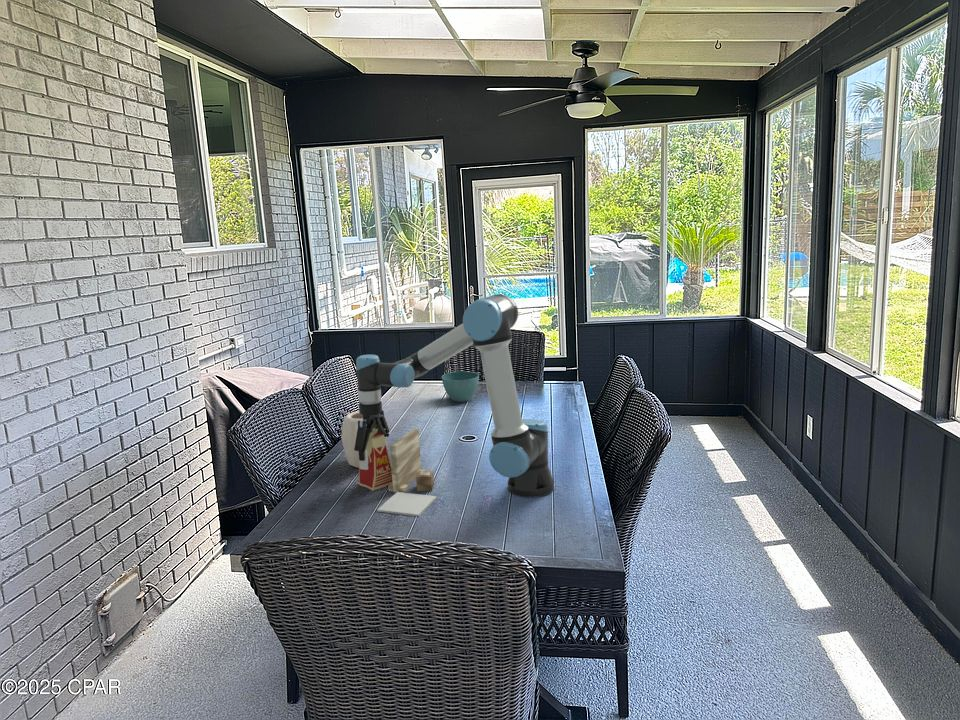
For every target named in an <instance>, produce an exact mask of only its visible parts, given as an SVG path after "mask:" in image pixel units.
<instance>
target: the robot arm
mask: <svg viewBox="0 0 960 720" xmlns="http://www.w3.org/2000/svg"><path fill="white" fill-rule="evenodd" d="M518 318H519V309H518V305H517V304H516V302H515V301H514V300H513V298H511V297H510V296H508V295H506V294H493V295H489V296H487V297H482V298H478V299H476V300H474V301H473V302H472V303H470V304H469V305H468V306H467V307H466V309H465V310H464V313H463V316H462V323H461V324H459V325H458V326H455V328H453V329H452V330H450V331H448V332H446V333H445V334H443V335H442V336H440V337H439V338H437V339H436V340H434V341H432V342H430V343H428V345H426V346H424V347H423V348H421V349H419V350H418V351H416V352H414V353H413V354H411V355H410V356H407V357H405V358H403V359H401V360H397V361H395V362H381V360H380V358H379V356H378V354H377V355H376V354H362V355H359V356H358V357H357V358H356V359H355V360H356V362H355V364H356V365H355V366H356V369H355V371H356V381H357V394H358V397H357V398H358V402H359V403H358V411H359V413H360V414H362V415H363V420H362V421H360V420H359V421H358V430H357V436H356V442H355V448H354V450H355V451H358V452H359V463H360V469H364V470H368V457H367V450H366V446H367V443H368V439H369V436H370V433H371V432H372V430H373V429H374V428H375V429H378V430H377V433H380V434H384V437H385V442H386V446H387V445H388V444H387V438H389V437H390V429H389V426H388V423H387V421H386V420H387V419H386V417H385V412H384V409H383V405H382V401H381V400H382V388H381V387H382V386H384V387H392V388H399V389H401V388H410V387H411V386H412V384H413V382H414V381H415V379H417V378H419V377H422V376H425V375H426V374H427V373H429V371H431V370H433V369H434V368H436V367H437V366H439V365H440V364H442V363H444V362H445V361H447V360H449V359H451V358H453V357H454V356H456V355H457V354H459V353H461V352H462V351H465V350H466V349H468V348H469V347H470V346H472V345H473V347H474V348H475V349H476V350H478V351H479V353H480V358H481V363H482V368H483V375H484V379H485V384H486V390H487V394H488V399H489V400H488V401H489V405H490V409H491V416H492V420H493V425H494V427H493V429H492V431H491V433H490V437H491V443H492V447H491V449H490V452H489V462H490V463H489V464H490V465H491V467H492V468H493V470H495V472H496V473H498V474H499V475H501V476H502V477H506V478H508V479H507V490H508V493H511V494H512V495H514V496H518V497H522V498H537V497H544V496H547V495H549V494H551V493H553V491H554V489H555V482H554V479H553V475H552V473H551V470H550V467H549V439H548V438H549V434H548V433H549V431H548V424H547V423H546V422H545V421H544V420H541V419H534V418H522V412H521V407H520V403H519V396H518V391H517V385H516V381H515V376H514V371H513V366H512V365H513V364H512V358H511V354H510V353H511V352H510V349H509V345H510V343H511V342H512V340H513V338H512V337H513V336H512V332H511V329H512V328H513V327H514V326H515V325H516V323H517V320H518ZM387 447H388V446H387Z"/></svg>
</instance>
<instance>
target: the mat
mask: <svg viewBox="0 0 960 720" xmlns="http://www.w3.org/2000/svg"><path fill="white" fill-rule="evenodd" d="M437 499H438V496H436V495H427V494H419V493H410V492H408V493H407V492H405V493H404V492H395V493H394V494H393V495H392V496H391V497H389V498H388V499H387V500H386V501H385V502H384V503H383V504H382V505H381V506H379V507H378V508H377V510H376V511H377V512H378V513H379V512H380V513H387V514H396V515H404V516H411V517H412V516H413V517H420V516H421V515H422V514H423V513H424V512H425V511H426V510H427V509H428V508H429V506H431V505H432V504H433V503H434V501H436V500H437Z"/></svg>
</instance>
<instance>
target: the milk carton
mask: <svg viewBox="0 0 960 720" xmlns="http://www.w3.org/2000/svg"><path fill="white" fill-rule="evenodd" d="M377 430H378V429H374V430H372V432H371V433H370V436H369V439H368V443H367V446H366V450H367V457H368V470H364V469H360V463H359V468H358V474H359V475H358V481H359V486H361V487H364V488H367V489H369V490H370V491H376V490H379V489H382V488H385V487H388V486H389V485H391V484H392V483H393V481H392V466H391V458H390V456H389V452H388V446H386V443H387V441H386V442H385V437H384V434H380V433H377Z"/></svg>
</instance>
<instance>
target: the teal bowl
mask: <svg viewBox="0 0 960 720" xmlns="http://www.w3.org/2000/svg"><path fill="white" fill-rule="evenodd" d="M479 377H480V375H479V374H478V373H477V372H475V371H474V372H473V371H452V372H447V373H445V374H443V375H441V381H442V385H443V388H444V391H445V392H446V394H447V395H448V397H449V398H450V399H451V400H452V401H454V402H457V403H464V402H467V401H470V400H471V399H472V398H473V395H475V393H476V391H477V388H478V385H479V380H480V379H479Z"/></svg>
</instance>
